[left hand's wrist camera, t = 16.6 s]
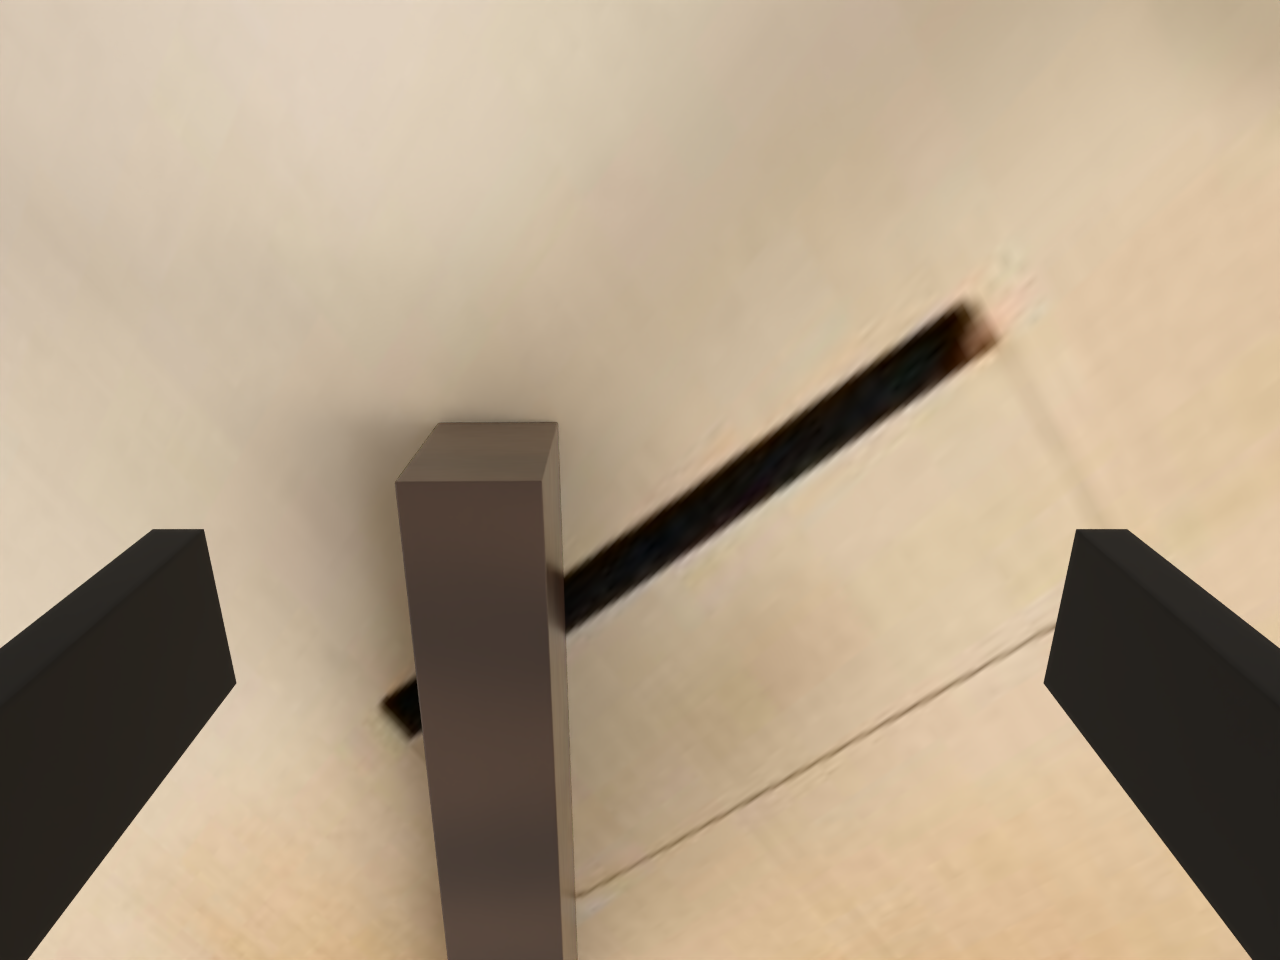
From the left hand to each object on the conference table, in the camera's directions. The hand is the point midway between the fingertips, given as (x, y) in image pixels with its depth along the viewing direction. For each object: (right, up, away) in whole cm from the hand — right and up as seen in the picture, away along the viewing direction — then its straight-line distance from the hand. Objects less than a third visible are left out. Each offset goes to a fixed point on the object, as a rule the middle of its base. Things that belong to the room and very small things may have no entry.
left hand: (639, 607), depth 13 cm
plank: (-6, -11, +28) cm, 30 cm away
